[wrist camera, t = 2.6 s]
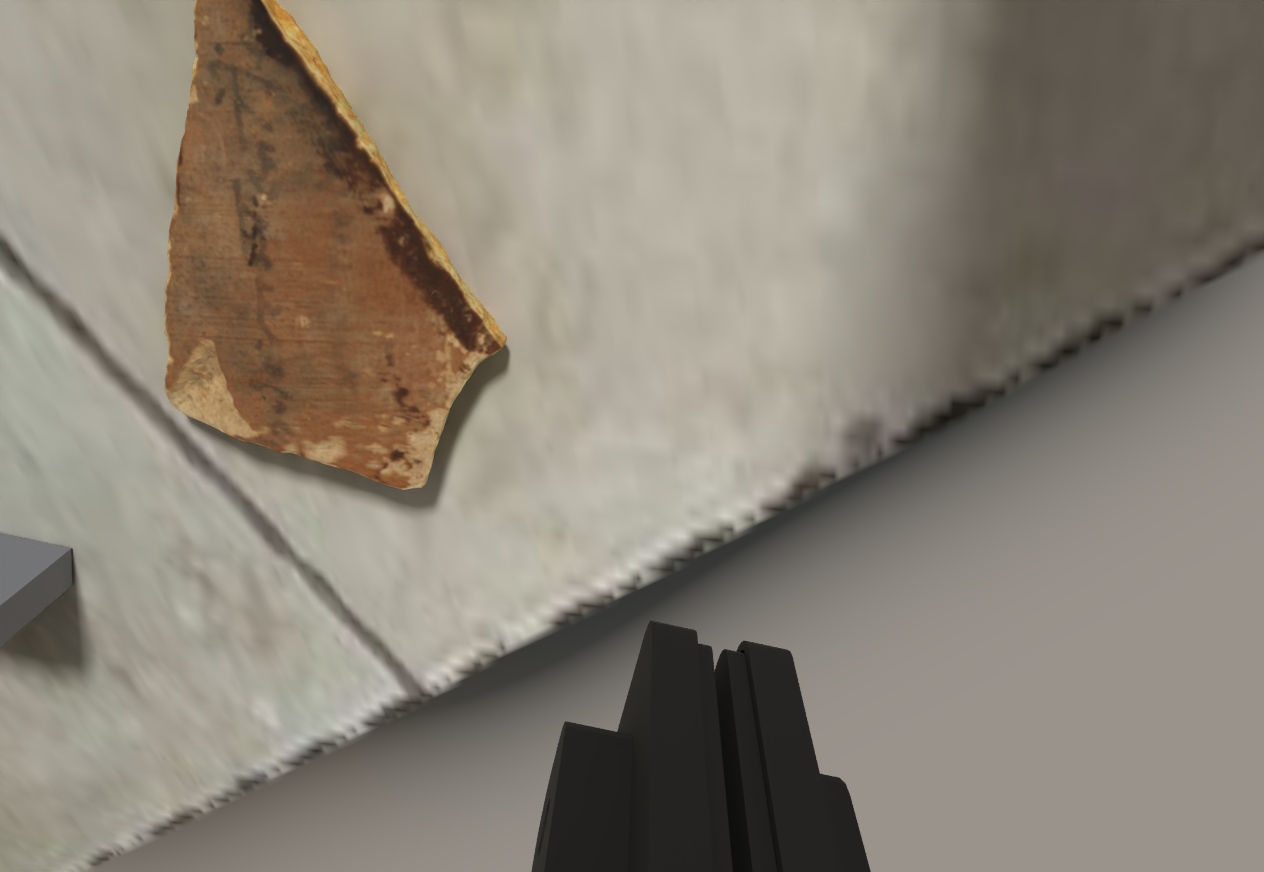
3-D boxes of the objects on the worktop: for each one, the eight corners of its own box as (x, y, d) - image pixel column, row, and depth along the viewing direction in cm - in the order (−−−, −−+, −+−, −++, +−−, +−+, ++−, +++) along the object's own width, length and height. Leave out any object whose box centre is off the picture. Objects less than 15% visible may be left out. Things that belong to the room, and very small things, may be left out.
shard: (237, -78, 18) (193, -93, 16) (590, 46, 19) (582, 44, 17) (182, 390, 22) (142, 416, 20) (472, 478, 23) (455, 510, 21)
